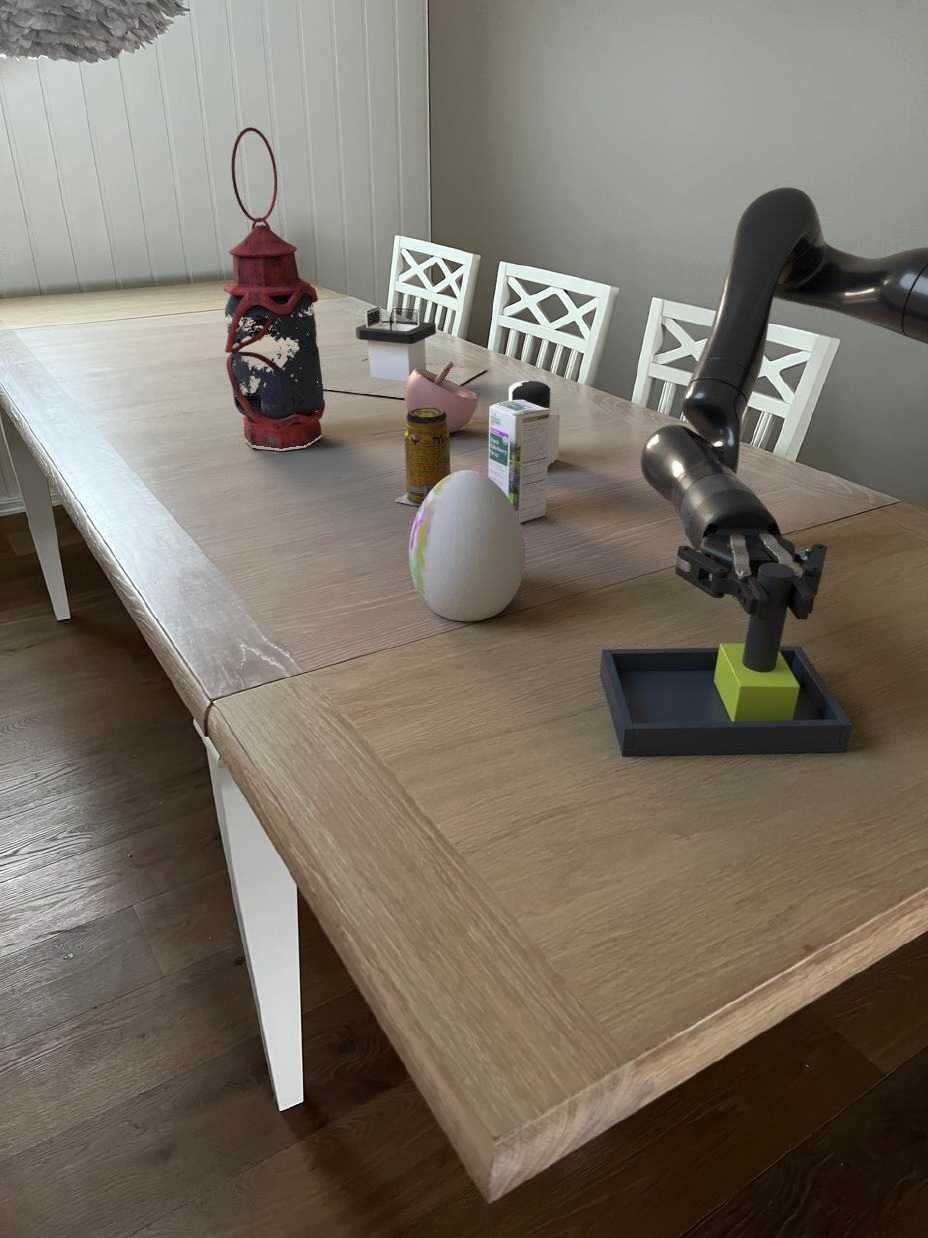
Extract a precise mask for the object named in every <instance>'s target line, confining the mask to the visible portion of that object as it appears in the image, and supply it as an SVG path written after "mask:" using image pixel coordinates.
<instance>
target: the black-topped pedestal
mask: <svg viewBox="0 0 928 1238" xmlns="http://www.w3.org/2000/svg"><path fill="white" fill-rule="evenodd" d="M364 313H365V315H364V316H365V324H362V325H360V326H357V327H355V337H356V339H357V340H361V341H367V351H368V358H369V370H370V377H376V378H384V379H392V380H401V381H408V378H409V377H410V375H411V373H412V372H413V371H414V369H417V368H420V369H424V370H426V363H427V362H426V339H427V338H430V337H431V336H434V335H436V334H437V324H436V322H427V321H421V319H420V308H417V309H414V308H413V309H412V308H400V307H399V308H398V307H396V306H393V308H392V310H391V312H390V316H389V320H383V319H382V306H381V305H379V306H377V307H375V308H372V309H368V310H364ZM414 316H415V317H414ZM415 318H416V319H415Z"/></svg>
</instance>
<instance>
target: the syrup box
mask: <svg viewBox="0 0 928 1238" xmlns="http://www.w3.org/2000/svg"><path fill="white" fill-rule="evenodd" d="M488 409H489V410H488V411H489V414H488V472H487V473H488V474H487V475H488V476H487V477H488V478H490V479H491V480H493V481H494V482H495V483H496V484H497V485H498V486H499V487H500V488H501V489H502V490H503V492H504V493H505V494H506V495H507V497H508V498H509V500H510V501H511V503H512V505H513V506H514V509H515V511H516V513H517V515H518V518H519V520H520V523H521V524H523V523H525V522H529V521H531V520H535V519H537V518H541V517H544V516H546V510H547V488H548V487H547V486H548V468H549V466H548V446H549V424H550V413H551V408H550V409H548V408H543V407H541V406H538V405H535V404H532V403H529V402H526V401H525V400H511V401H509V400H505V401H501V402H498V403H495V404H491V405H489V408H488Z"/></svg>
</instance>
